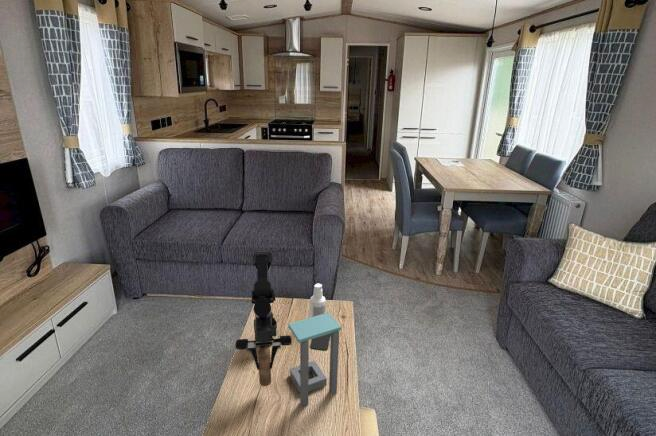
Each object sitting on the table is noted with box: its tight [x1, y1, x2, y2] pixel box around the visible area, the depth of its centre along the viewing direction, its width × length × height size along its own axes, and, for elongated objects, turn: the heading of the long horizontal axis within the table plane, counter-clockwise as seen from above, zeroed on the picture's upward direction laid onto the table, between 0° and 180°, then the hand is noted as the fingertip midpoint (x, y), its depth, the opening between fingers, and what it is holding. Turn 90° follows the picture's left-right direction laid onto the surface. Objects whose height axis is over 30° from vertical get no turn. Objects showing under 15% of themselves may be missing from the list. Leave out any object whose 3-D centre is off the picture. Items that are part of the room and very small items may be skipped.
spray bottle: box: [309, 282, 327, 318], centre depth 169 cm, size 7×7×18 cm
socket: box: [289, 360, 328, 393], centre depth 138 cm, size 10×10×3 cm
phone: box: [309, 333, 331, 351], centre depth 161 cm, size 7×1×15 cm
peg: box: [257, 346, 272, 387], centre depth 128 cm, size 4×4×13 cm
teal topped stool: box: [287, 312, 342, 407], centre depth 129 cm, size 10×15×27 cm, turn 118°
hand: (264, 369), depth 127 cm, fingers closed on peg, 4 cm apart
